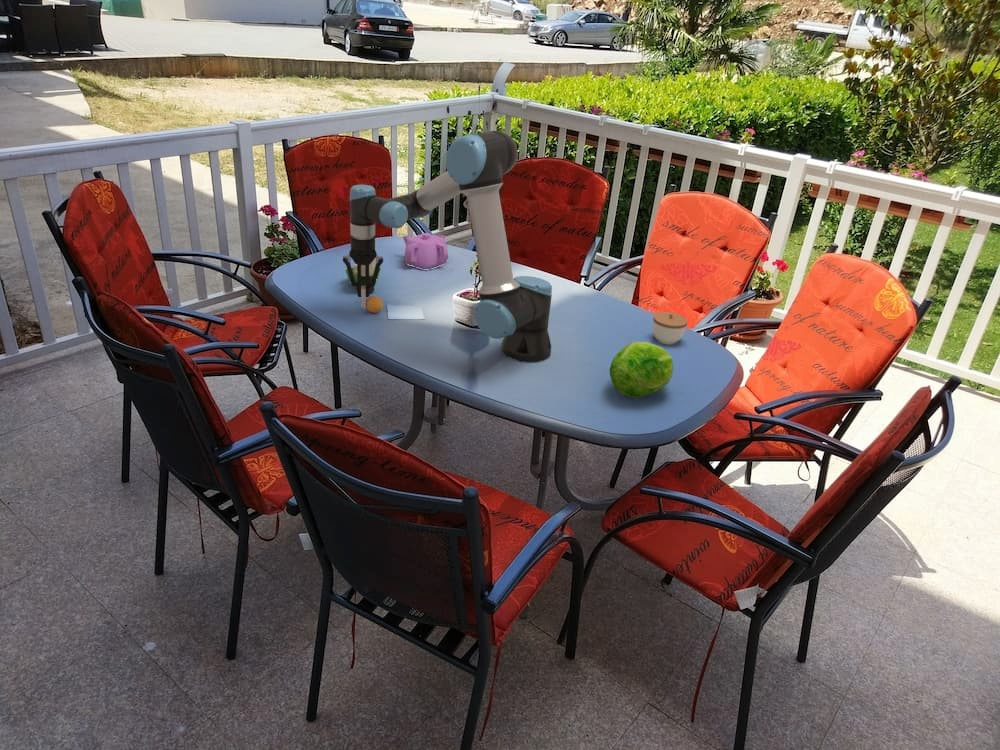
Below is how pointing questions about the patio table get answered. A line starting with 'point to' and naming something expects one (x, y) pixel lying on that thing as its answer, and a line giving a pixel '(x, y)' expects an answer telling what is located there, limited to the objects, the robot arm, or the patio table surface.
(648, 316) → the patio table surface
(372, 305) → the ball
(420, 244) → the pink squat rounded shape
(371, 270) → the character mug
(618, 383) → the lettuce
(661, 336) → the lidded jar
